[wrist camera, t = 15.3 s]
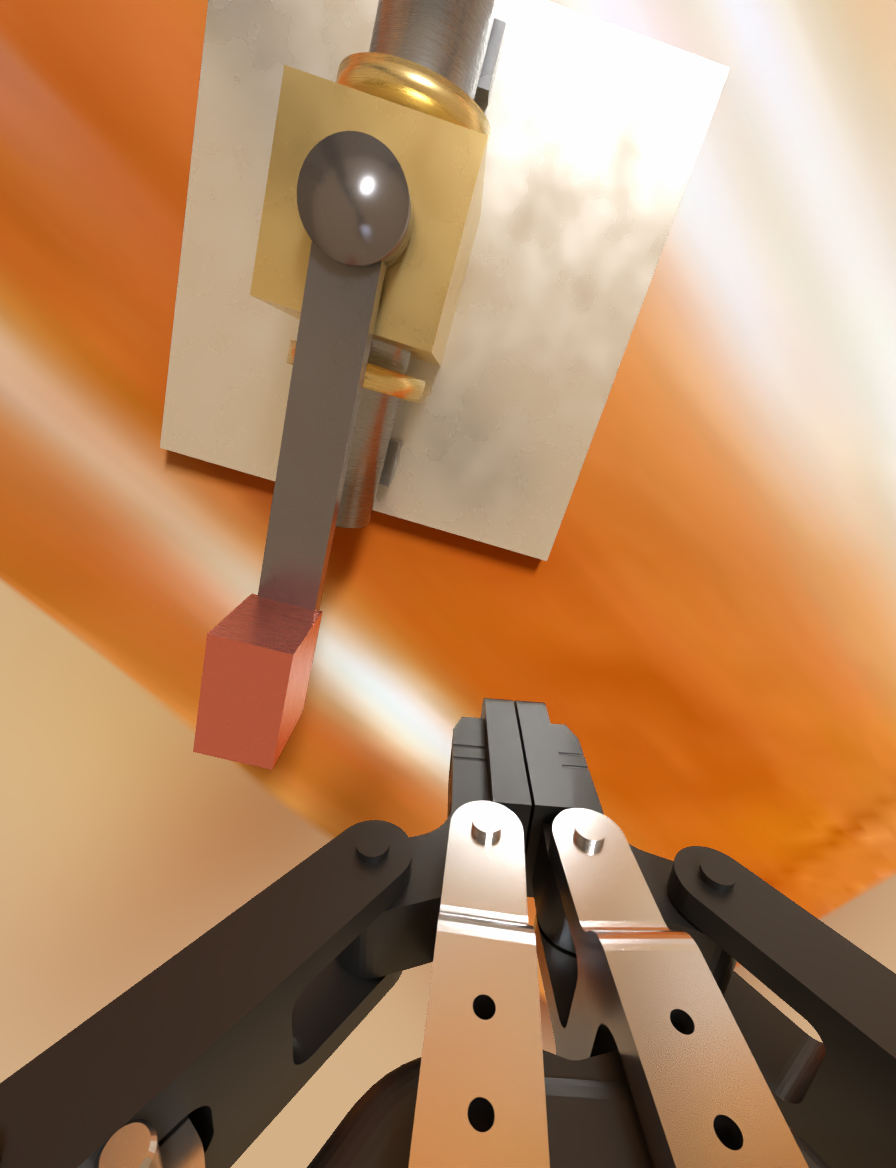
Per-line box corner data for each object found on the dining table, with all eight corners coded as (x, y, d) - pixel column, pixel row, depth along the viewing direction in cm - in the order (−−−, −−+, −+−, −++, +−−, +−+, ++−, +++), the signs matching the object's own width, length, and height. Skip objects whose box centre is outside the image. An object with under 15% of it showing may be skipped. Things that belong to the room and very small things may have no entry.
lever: (320, 139, 18) (266, 41, 13) (424, 171, 18) (410, 86, 13) (239, 681, 25) (185, 749, 20) (315, 699, 25) (280, 771, 20)
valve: (233, -94, 23) (85, -412, 14) (717, 83, 25) (864, -101, 16) (171, 446, 31) (49, 464, 22) (544, 555, 32) (575, 615, 23)
